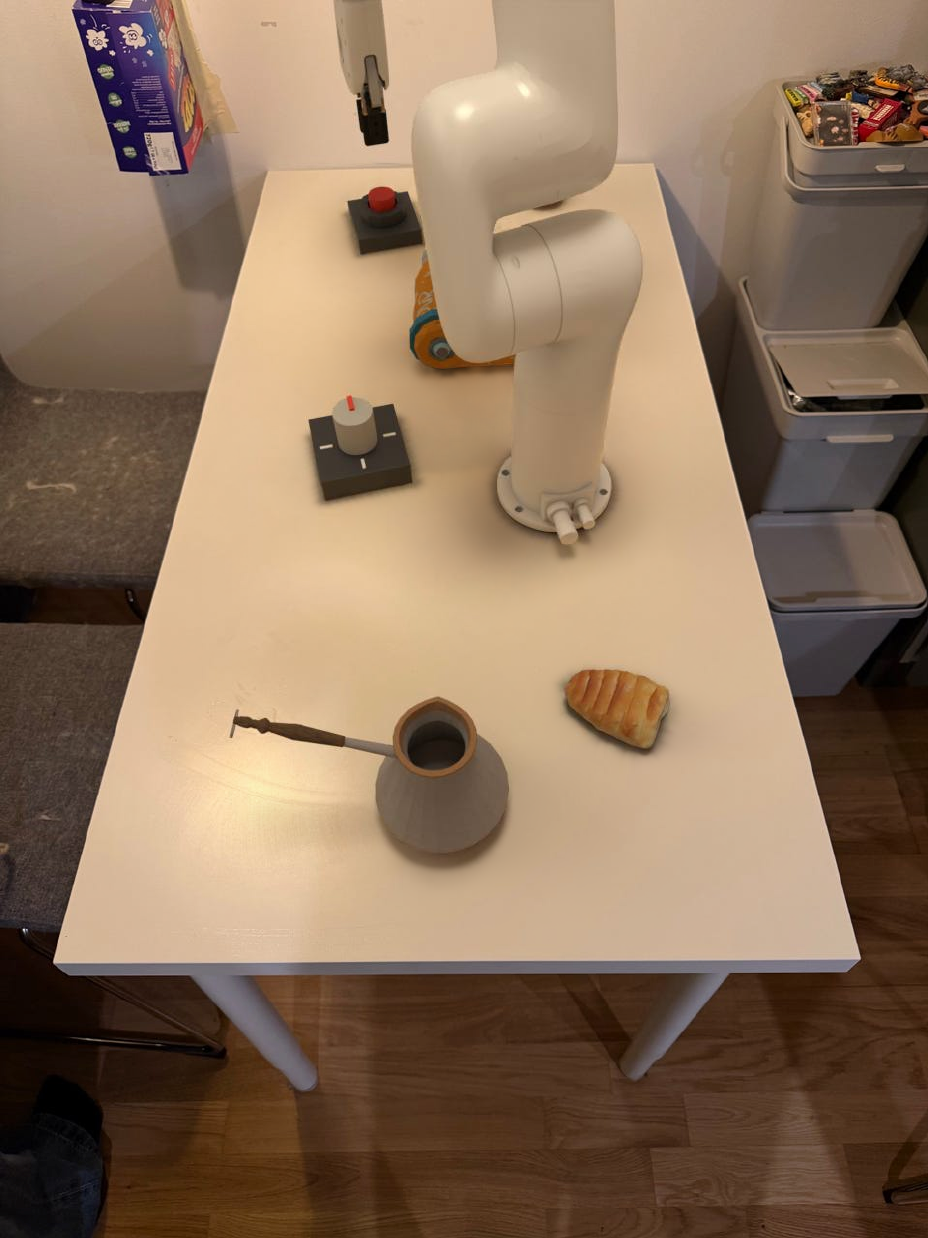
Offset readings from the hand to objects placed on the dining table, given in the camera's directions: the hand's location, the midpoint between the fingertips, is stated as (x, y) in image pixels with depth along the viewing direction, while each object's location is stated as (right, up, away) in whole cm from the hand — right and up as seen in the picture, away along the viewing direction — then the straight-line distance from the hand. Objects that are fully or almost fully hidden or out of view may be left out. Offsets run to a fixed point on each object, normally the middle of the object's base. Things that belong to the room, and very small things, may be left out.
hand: (374, 135), depth 110 cm
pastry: (+26, -72, -32) cm, 83 cm away
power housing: (0, -7, +11) cm, 13 cm away
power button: (0, -5, +8) cm, 10 cm away
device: (+20, -24, 0) cm, 31 cm away
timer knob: (0, -44, -16) cm, 46 cm away
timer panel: (0, -45, -14) cm, 47 cm away
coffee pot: (+5, -79, -36) cm, 87 cm away
